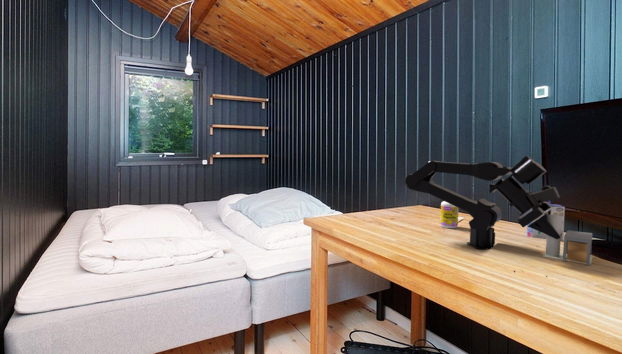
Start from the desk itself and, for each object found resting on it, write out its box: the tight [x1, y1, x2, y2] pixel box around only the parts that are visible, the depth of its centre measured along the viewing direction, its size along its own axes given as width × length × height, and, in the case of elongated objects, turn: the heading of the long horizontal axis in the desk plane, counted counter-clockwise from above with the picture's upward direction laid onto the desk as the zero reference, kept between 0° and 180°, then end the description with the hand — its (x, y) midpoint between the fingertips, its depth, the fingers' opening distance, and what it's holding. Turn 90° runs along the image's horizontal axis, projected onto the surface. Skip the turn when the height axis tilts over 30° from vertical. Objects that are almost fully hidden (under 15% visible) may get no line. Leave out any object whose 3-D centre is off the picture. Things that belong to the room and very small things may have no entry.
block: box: [566, 241, 588, 263], centre depth 88 cm, size 4×4×5 cm
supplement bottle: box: [439, 200, 459, 229], centre depth 133 cm, size 7×7×13 cm
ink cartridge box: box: [526, 200, 566, 242], centre depth 113 cm, size 10×6×14 cm, turn 79°
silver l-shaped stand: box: [543, 215, 593, 265], centre depth 89 cm, size 10×6×12 cm, turn 47°
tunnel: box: [562, 229, 594, 267], centre depth 88 cm, size 5×9×8 cm, turn 137°
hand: (559, 237), depth 91 cm, fingers closed on silver l-shaped stand, 3 cm apart
